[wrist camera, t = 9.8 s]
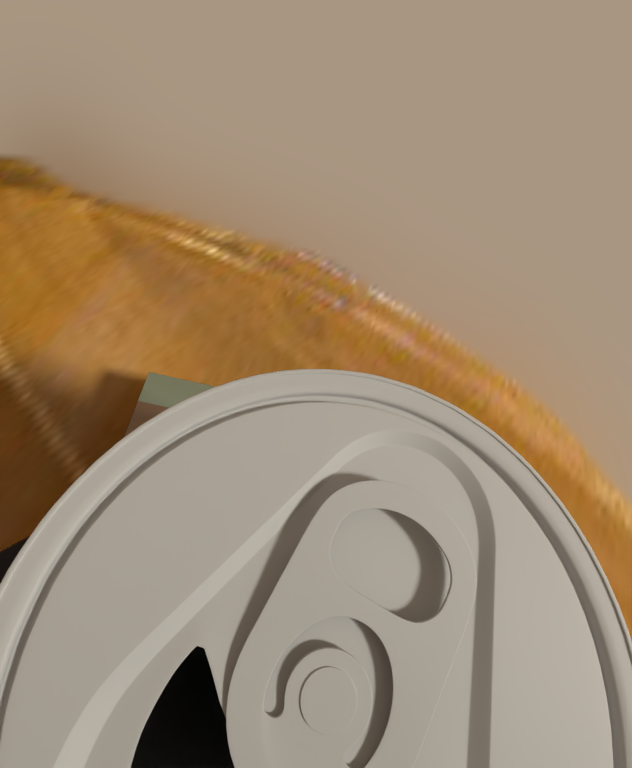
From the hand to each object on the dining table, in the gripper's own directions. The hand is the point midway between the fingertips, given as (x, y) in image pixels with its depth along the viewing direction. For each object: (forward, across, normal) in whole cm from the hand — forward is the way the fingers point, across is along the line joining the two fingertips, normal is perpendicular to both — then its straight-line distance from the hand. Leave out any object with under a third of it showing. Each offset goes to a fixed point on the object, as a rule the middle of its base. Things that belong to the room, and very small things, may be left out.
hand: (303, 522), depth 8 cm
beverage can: (+4, 0, +6) cm, 7 cm away
